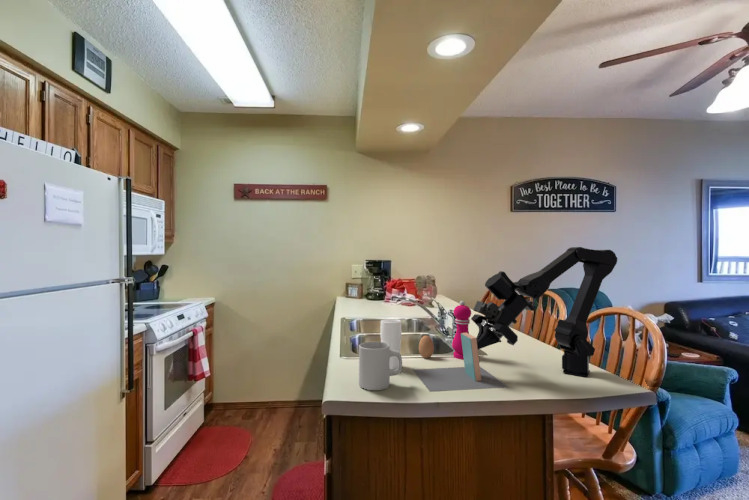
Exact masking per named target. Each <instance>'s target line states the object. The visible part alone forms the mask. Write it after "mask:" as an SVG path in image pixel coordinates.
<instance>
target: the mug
mask: <svg viewBox="0 0 749 500" xmlns="http://www.w3.org/2000/svg"><path fill="white" fill-rule="evenodd" d="M392 356H396V357H397V358H398V360H399V365H398V368H397V369H396V370H392V369H390V366H389V360H390V357H392ZM402 358H403V357H402V354H401V352H400V353H399V352H398V351H394V350H389V345H388V344H387V343H383V342H381V341H366V342H361V343H360V344H359V345H358V385H359V387H360V388H361V387H362V388H364V389H363V390H365V389H367V390H366V391H370V390H379V391H382V390H383V389H384V390H386V389H387V388H390V381H391V380H390V377H393V376H394V377H395V376H398V375H400V374H401V371H402V369H403V359H402ZM362 388H361V389H362Z"/></svg>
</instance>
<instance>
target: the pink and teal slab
mask: <svg viewBox="0 0 749 500" xmlns="http://www.w3.org/2000/svg"><path fill="white" fill-rule="evenodd" d="M476 338H477V336H474V335H472V334H470V333H469V334H468V333H461V340H462V349H463V357H464V360H463V364H464V366H463V367H465V373H466V374H467V375H468V376H470V377H471V378H472V379H473V380H475V381H479V380H481V373H480V367H481V365H480V359H479V357H480V356H479V349H478V348H477V339H476Z"/></svg>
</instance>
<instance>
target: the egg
mask: <svg viewBox="0 0 749 500" xmlns="http://www.w3.org/2000/svg"><path fill="white" fill-rule="evenodd" d="M434 350H435V349H434V342H433V340H432V338H431V337H430V336H429V335H423V336H422V337H421V339H420V340H419V343H418V352H419V354H420V357H422V358H423V359H429V358H432V356H433V354H434Z"/></svg>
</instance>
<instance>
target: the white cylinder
mask: <svg viewBox="0 0 749 500" xmlns="http://www.w3.org/2000/svg"><path fill="white" fill-rule="evenodd" d="M379 324H380V330H379V331H380V332H379V333H380V342H383V343H387V344H388V345H389V350H394V351H398V352H399V353H400V354H401V345H402V343H401V342H402V333H403V332H402V320H400V319H397V318H383V319H381V320H380V323H379ZM398 365H399V360H398V358H397V357H396V356H392V357H390V360H389V366H390V369H392V370H396V369H397V368H398Z"/></svg>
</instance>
